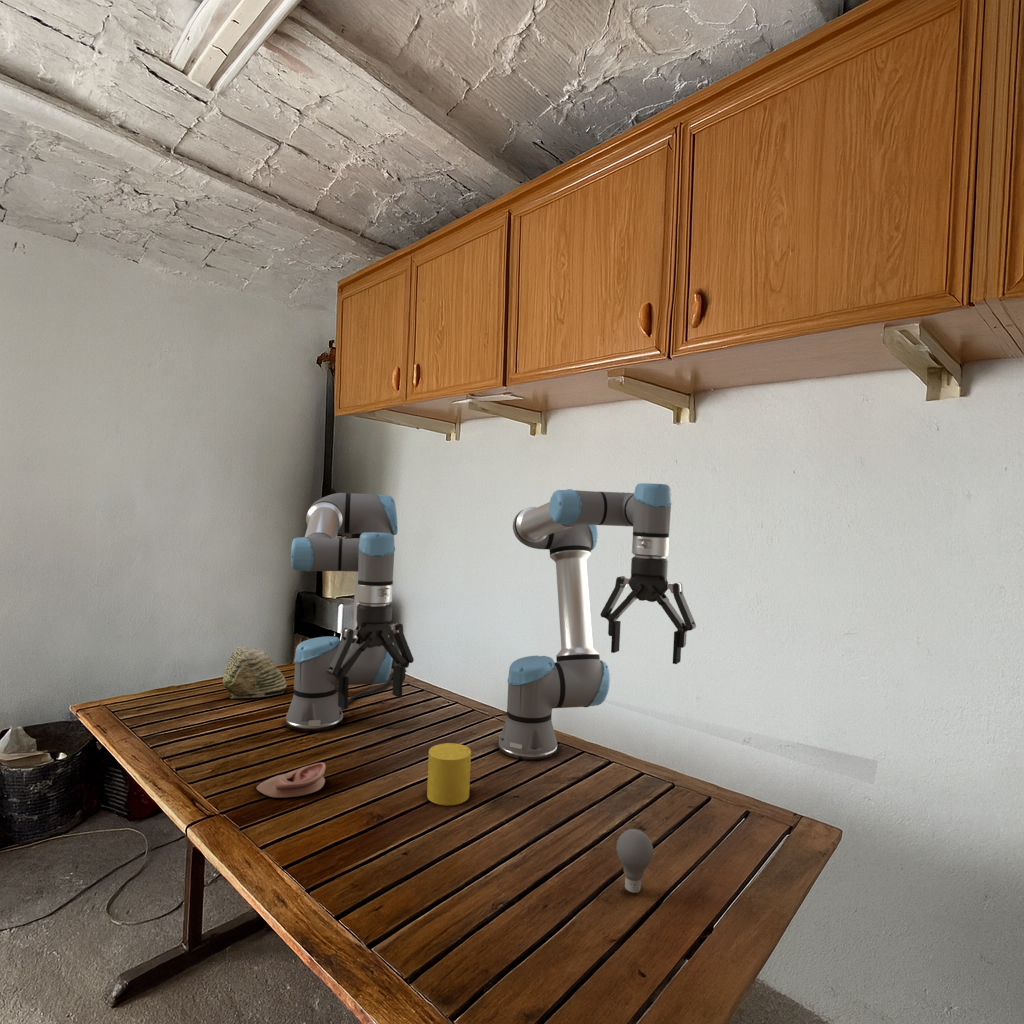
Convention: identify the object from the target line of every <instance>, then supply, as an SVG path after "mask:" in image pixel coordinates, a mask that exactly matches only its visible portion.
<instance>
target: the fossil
mask: <svg viewBox="0 0 1024 1024" xmlns="http://www.w3.org/2000/svg"><path fill="white" fill-rule="evenodd" d="M222 676H223V677H222V685H223V687H224V688H225V690H226V691H228V693H229V698H230V699H250V698H264V697H271V696H275V695H281V694H284V693H285V691H286V689H287V687H288V686H287V680H286V678H285V676H284V674H283V673H282V672H281V669H279V668H278V667H277V665H276V663H275V662H274V660H273V659H272V658H271V657H270V656H269V655H268V654H267V653H266V652H265V650H264V649H263V648H260V647H258V648H251V647H247V646H246V647H245V646H238V647H237V648H236V649H235V650H233V651H232V653H231V656H230V657H229V659H228V660H227V663H226V666H225V668H224V671H223V675H222Z"/></svg>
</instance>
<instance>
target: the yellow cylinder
mask: <svg viewBox="0 0 1024 1024" xmlns="http://www.w3.org/2000/svg"><path fill="white" fill-rule="evenodd" d="M427 758H428V760H427V761H428V762H427V785H426V786H427V787H426V798H427V799H428V801H430V802H431V803H433V804H436V805H439V806H456V805H457V806H458V805H460V804H462V803H465V802H466V801H468V800H469V798H470V789H471V788H470V786H471V766H472V765H471V764H472V762H471V761H472V750H471V748H469V747H468V746H467V745H464V744H460V743H454V742H446V743H445V742H444V743H439V744H436V745H433V746H431V747H430V748H429V749H428V757H427Z"/></svg>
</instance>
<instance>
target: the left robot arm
mask: <svg viewBox="0 0 1024 1024" xmlns="http://www.w3.org/2000/svg"><path fill="white" fill-rule="evenodd" d="M305 522H306V525H307V527H306V531H305V534H304V536H302V537H301V536H300V537H295V538H293V539H292V542H291V548H290V566H291V568H292V570H294V571H305V572H355V575H354V578H355V579H354V596H353V597H354V598H353V599H354V600H353V625H352V628H348V627H343V629H342V632H341V639H340V638H339V637H337V636H330V635H329V636H328V635H327V636H319V637H313V638H309V639H306V640H303V641H302V642H299V643H298V644H297V645H296V648H295V655H294V660H293V663H294V674H293V675H294V680H293V695H292V696H293V697H292V699H291V702H290V704H289V708H288V711H287V713H286V715H285V726H286V728H287V729H289V730H291V731H294V732H295V731H296V732H301V733H316V732H325V731H329V730H332V729H335V728H337V727H339V726H340V725H342V723H343V722H344V713H343V710H346V709H348V707H349V706H348V705H349V703H350V702H352V701H353V700H354V699H357V698H360V697H362V696H366V695H370V694H373V693H376V692H377V691H380V690H382V689H384V688H386V687H387V686H388V685H389V683H390V682H391V680H392V691H391V694H392V696H394V697H397V698H403V682H405V681H406V673H407V668H409V666H410V664H412V663H414V660H415V659H414V656H413V654H412V652H411V649H410V645H409V644H408V641H407V639H406V636H405V634H404V625H403V623H400V622H396V621H395V622H393V623H392V624H391V621H392V619H393V606H392V604H391V603H392V602H393V591H394V589H393V588H394V568H395V567H394V563H395V551H396V544H395V536H396V535H398V532H399V531H398V530H399V529H398V514H397V506H396V502H395V499H394V498H393V497H392V495H388V494H386V495H385V494H379V493H354V492H353V493H352V492H351V493H350V492H349V493H348V492H336V493H332V494H329V495H326V496H323V497H321V498H320V499H318V500H316V501H314V503H312V504H311V506H310V507H309V508H308V509H307V512H306V517H305ZM338 534H349V535H350V538H338ZM391 634H393V638H394V640H395V643H396V645H397V648H398V649H397V648H396V646H395V643H394V642H393V641H392V640H391V638H390V635H391ZM393 661H394V662H395V665H393ZM392 665H393V667H392ZM392 669H393V671H392ZM391 671H392V672H391ZM380 684H381V685H380ZM355 685H357V686H359V685H370V686H373V685H379V686H377V687H375V688H372V689H370V690H366V691H363V692H359V693H357V694H354V695H352V696H350V697H349V686H355Z"/></svg>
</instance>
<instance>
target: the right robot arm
mask: <svg viewBox="0 0 1024 1024" xmlns="http://www.w3.org/2000/svg"><path fill="white" fill-rule="evenodd" d="M671 491H672V490H671V486H670V485H668V484H665V483H651V482H648V483H645V482H643V483H642V482H641V483H637V484H636V485H635V487H634V492H620V491H619V492H618V491H591V490H578V489H576V490H575V489H572V488H571V489H569V488H567V489H557V490H555V491H554V492H553V493H552V495H551V496H550V500H549V501H548V502H546V503H544V504H542V505H539V506H529V507H526V508H524V509H522V510H520V511H519V512H517V513H516V515H515V517H514V519H513V521H512V531H513V534H514V536H515V538H516V539H517V541H519V542H520V543H521V544H523V545H524V546H526V547H528V548H531V549H536V550H548V551H549V558H550V559H551V560H552V561H553V562H554V563H555V573H556V588H557V589H556V590H557V602H558V604H557V605H558V616H559V617H558V618H559V619H558V620H559V633H560V647H561V649H560V650H559V652H558V653H557V654H556V655H555V656H556V657H555V659H556V661H555V660H554V658H552V657H550V656H547V655H528V656H523V657H520V658H517V659H515V660H513V662H512V663H511V664H510V665H509V668H508V677H507V703H506V704H507V705H506V719H505V721H504V724H503V726H502V730H501V732H500V735H499V738H498V746H497V748H498V750H499V752H501V753H502V754H504V755H505V756H506V757H507V756H508V757H511V758H512V759H518V760H523V761H540V760H544V759H549V758H551V757H553V756H555V755H556V753H558V739H557V737H556V733H555V729H554V725H553V722H552V713H553V709H567V708H568V709H571V708H589V707H595V706H596V707H598V706H600V705H601V704H603V703H604V702H605V700H606V699H607V696H608V694H609V691H610V686H611V685H610V684H611V674H610V669H609V666H608V664H607V662H605V661H603V660H601V657H600V653H599V652H598V650H596V649H595V648H594V640H593V627H592V615H591V602H590V590H589V578H588V566H587V565H588V564H587V560H588V559H589V558H590V557H591V556H592V551H593V550H595V548H596V546H597V544H598V538H599V537H598V535H599V534H598V533H599V532H598V527H597V526H607V527H608V526H613V527H632V543H631V544H632V545H631V554H632V555H633V556H632V557H631V563H630V566H631V567H630V577H629V578H628V577H626V576H624V575H622V576H617V577H616V579H615V585H614V588H613V590H612V591H611V594H610V595H609V597H608V599H607V601H606V602H605V605H604V606H603V608H602V610H601V611H600V617H601V618H604V619H605V620H607V621H608V629H607V635H608V637H611V642H610V643H611V645H610V653H613V654H615V653H618V652H620V643H621V621H622V620H619V618H620V617H621V616H622V615H623V613H624V612H625V611H626V610H627V609H628V608H629V607H630V606H631V605H633V603H634V602H635V601H636V600H638V601H642V602H644V601H647V602H649V603H655V602H657V604H658V605H659V606H660V607H661V608H662V610H663V611H664V613H665V614H666V615H667V617H668V618H669V620H670V621H671V622H672V624H673V625H674V627H675V629H676V630H674V631H673V645H672V647H673V649H672V664H673V665H677V664H679V663H681V660H682V659H681V657H682V648H685V647H686V646H687V633H688V632H689V631H694V629H696V628H697V624H696V622H695V619H694V616H693V614H692V612H691V610H690V607H689V604H688V602H687V600H686V598H685V595H684V592H683V591H684V590H683V583H682V582H681V581H680V582H679V581H678V582H669V581H668V568H669V560H668V559H667V558H666V557H668V556H669V547H670V546H669V545H670V544H669V543H670V529H671V528H670V526H671V512H672V511H671V510H672V503H673V502H672V492H671ZM627 586H629V587H630V589H631V591H630V592H629V593H628V595H627V596H626V597H625V599H623V601H622V602H621V603H619V605H618V606H617V607H616V608H615V606H616V604H617V602H618V601H619V599H620V597H621V595H622V593H623V592H624V589H625V588H627ZM668 590H669V591H670V593H671V594H672V595H673V598H674V600H675V603H676V605H677V607H678V611H679V612H680V614H679V613H678V611H677V610H676V609H675V607H674V606H673V604H672V602H670V599H669V597H668V596H667V594H666V593H667V591H668ZM614 608H615V609H614ZM680 615H681V616H680Z"/></svg>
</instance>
